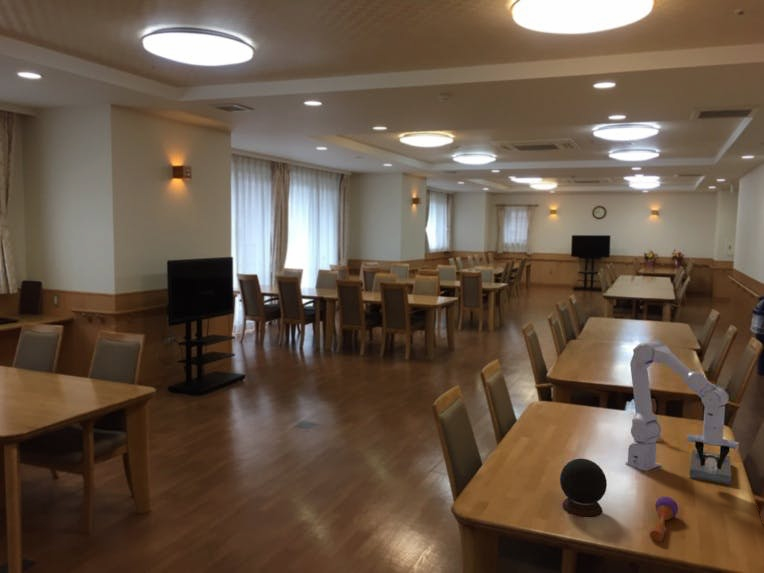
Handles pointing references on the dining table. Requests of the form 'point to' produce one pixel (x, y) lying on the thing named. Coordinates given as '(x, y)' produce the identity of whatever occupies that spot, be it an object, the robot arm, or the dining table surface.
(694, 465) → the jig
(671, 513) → the kendama
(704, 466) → the bushing
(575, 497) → the black ball on stand
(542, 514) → the dining table surface
